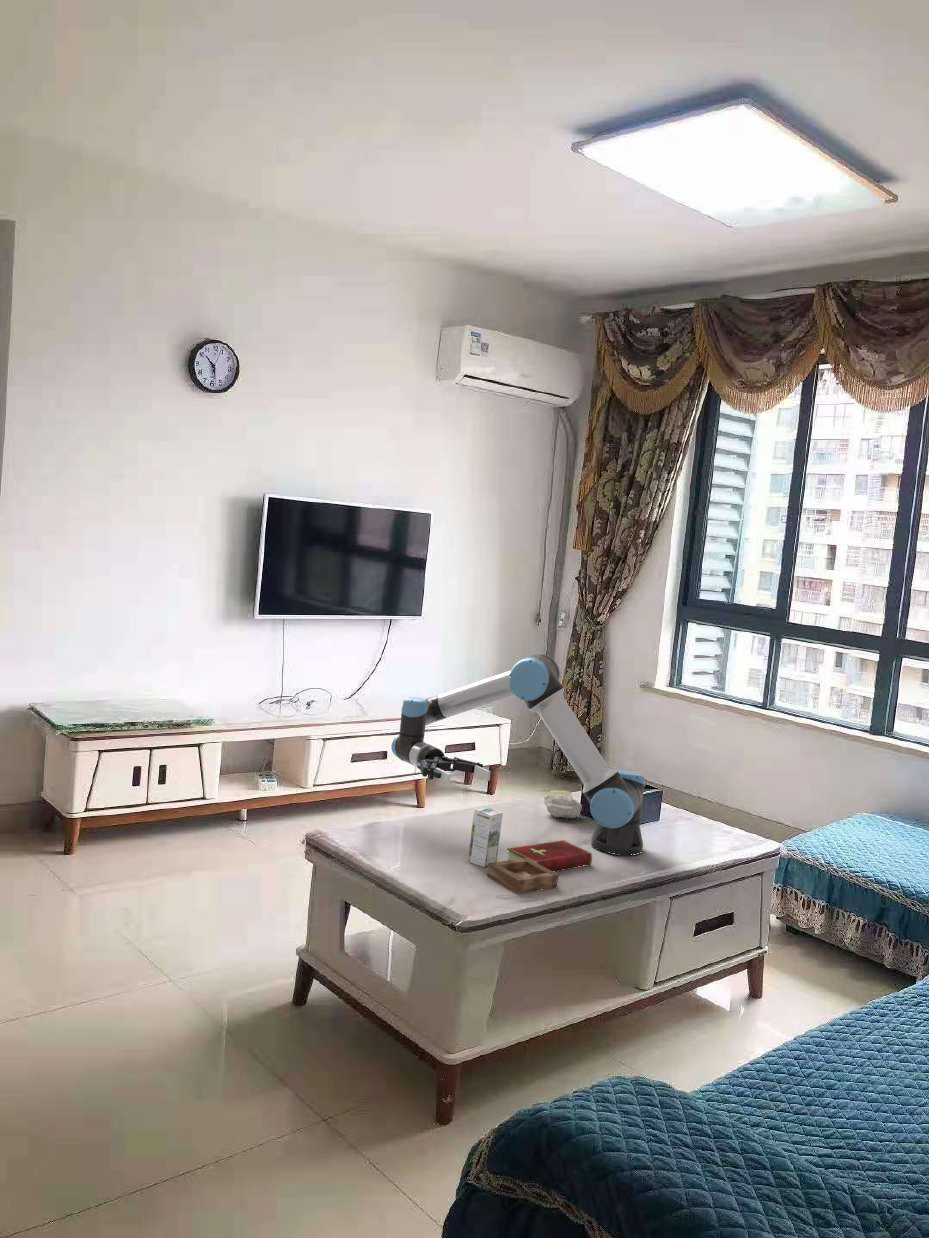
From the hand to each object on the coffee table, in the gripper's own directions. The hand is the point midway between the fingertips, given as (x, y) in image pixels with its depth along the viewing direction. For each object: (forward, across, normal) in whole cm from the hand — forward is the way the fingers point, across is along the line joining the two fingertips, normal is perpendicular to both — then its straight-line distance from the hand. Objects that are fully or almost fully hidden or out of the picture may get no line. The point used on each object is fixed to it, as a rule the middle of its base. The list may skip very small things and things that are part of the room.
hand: (469, 777), depth 283 cm
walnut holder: (+26, -2, -21) cm, 33 cm away
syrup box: (+10, 0, -21) cm, 23 cm away
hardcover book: (+16, -18, -22) cm, 33 cm away
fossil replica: (-18, -52, -21) cm, 59 cm away
